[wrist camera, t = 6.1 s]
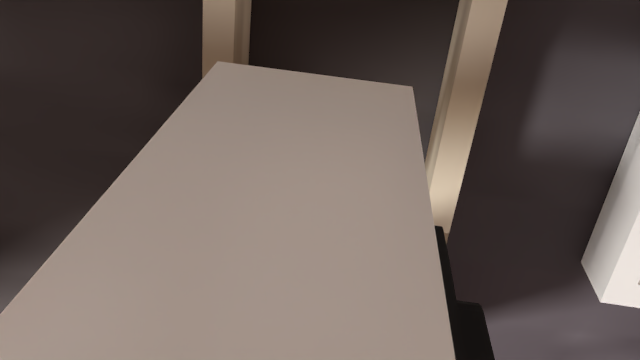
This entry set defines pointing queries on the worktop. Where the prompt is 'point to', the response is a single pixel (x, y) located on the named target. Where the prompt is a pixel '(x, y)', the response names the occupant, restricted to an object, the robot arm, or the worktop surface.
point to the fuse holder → (454, 99)
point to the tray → (618, 234)
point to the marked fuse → (253, 235)
